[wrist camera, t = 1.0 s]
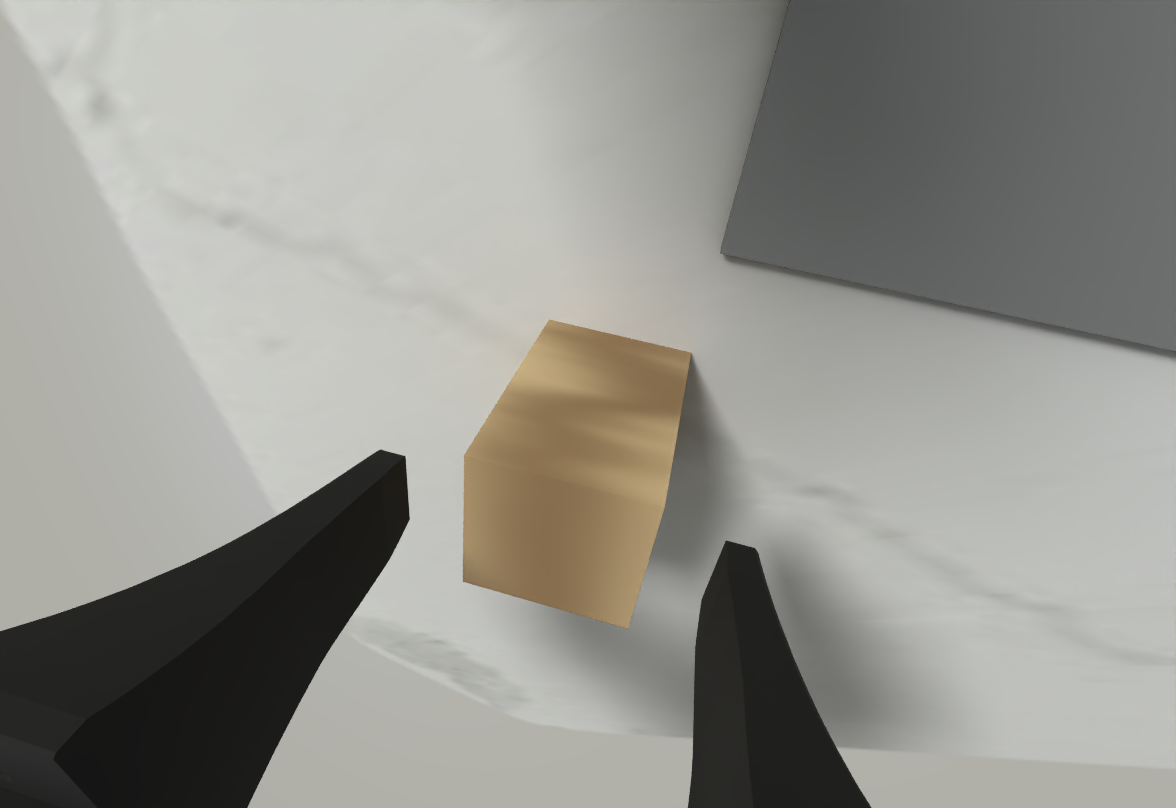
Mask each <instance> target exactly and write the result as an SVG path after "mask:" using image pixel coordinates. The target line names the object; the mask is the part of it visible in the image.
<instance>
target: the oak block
mask: <svg viewBox="0 0 1176 808" xmlns="http://www.w3.org/2000/svg"><path fill="white" fill-rule="evenodd" d="M690 358H691V353H689V352H685V351H681V350H677V349H672V348H668V347H664V346H659V345H655V344H651V343H647V342H642V341H638V340H634V339H630V338H625V337H621V336H617V335H612V334H608V333H604V332H600V331H595V330H591V329H587V328H583V327H578V326H574V325H570V324H565V323H561V322H557V321H553V320H549V321H548V322H547V324H546V326H545V327H544V329H543V330H542V332H541V334H540V335H539V337H538V338H537V340H536V342H535V343H534V345H533V346H532V348H531V349H530V351H529V353H528V354H527V356H526V357H525V359H524V361H523V362H522V364H521V365H520V367H519V369H518V370H517V372H516V373H515V375H514V377H513V378H512V380H511V381H510V383H509V385H508V386H507V388H506V389H505V391H504V393H503V394H502V396H501V397H500V399H499V401H498V402H497V404H496V405H495V407H494V409H493V410H492V412H491V413H490V415H489V417H488V418H487V420H486V421H485V423H484V425H483V426H482V428H481V429H480V431H479V433H478V434H477V436H476V437H475V439H474V440H473V442H472V444H471V445H470V447H469V448H468V450H467V452H466V453H465V455H464V527H463V582H466V583H470V584H473V585H477V586H480V587H484V588H487V589H491V590H494V591H498V592H501V593H505V594H508V595H512V596H515V597H519V598H522V599H526V600H529V601H533V602H536V603H540V604H543V605H547V606H550V607H554V608H557V609H561V610H564V611H568V612H571V613H575V614H578V615H582V616H585V617H589V618H592V619H595V620H599V621H602V622H606V623H609V624H613V625H616V626H620V627H623V628H627V629H628V627H629V624H630V621H631V617H632V614H633V611H634V607H635V604H636V601H637V597H638V594H639V591H640V588H641V584H642V581H643V578H644V574H645V571H646V568H647V565H648V561H649V558H650V555H651V551H652V548H653V545H654V541H655V538H656V535H657V532H658V528H659V525H660V522H661V518H662V515H663V512H664V508H665V503H666V497H667V492H668V486H669V480H670V474H671V468H672V463H673V457H674V451H675V445H676V439H677V434H678V428H679V422H680V416H681V410H682V404H683V399H684V393H685V387H686V381H687V375H688V370H689V364H690Z"/></svg>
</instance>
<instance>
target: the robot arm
mask: <svg viewBox="0 0 1176 808" xmlns="http://www.w3.org/2000/svg"><path fill="white" fill-rule="evenodd" d="M409 520H410V517H409V503H408V488H407V473H406V458H405V456H402V455H398V454H395V453H391V452H387V451H383V450H379V451H377V452H375V453H374V454H372V455H371V456H369V457H368V458H366V459H365V460H363V461H362V462H360V463H359V464H357V465H356V466H354V467H353V468H351V469H350V470H348V471H347V472H345V473H344V474H342V475H341V476H339V477H338V478H336V479H335V480H333V481H332V482H330V483H329V484H327V485H325V486H324V487H322V488H321V489H319V490H318V491H316V492H315V493H313V494H311V495H310V496H308V497H307V498H305V499H304V500H302V501H300V502H299V503H297V504H296V505H294V506H293V507H291V508H289V509H288V510H286V511H284V512H283V513H281V514H279V515H277V516H276V517H274V518H272V519H271V520H269V521H267V522H266V523H264V524H262V525H260V526H259V527H257V528H255V529H254V530H252V531H250V532H248V533H246V534H244V535H243V536H241V537H239V538H237V539H235V540H233V541H231V542H230V543H228V544H226V545H224V546H222V547H220V548H218V549H216V550H214V551H212V552H210V553H208V554H206V555H204V556H202V557H199V558H197V559H196V560H193V561H191V562H189V563H187V564H185V565H182V566H180V567H178V568H175V569H173V570H170V571H168V572H166V573H163V574H161V575H159V576H156V577H154V578H152V579H149V580H147V581H145V582H142V583H140V584H138V585H135V586H133V587H130V588H128V589H125V590H123V591H120V592H117V593H114V594H112V595H109V596H107V597H104V598H101V599H98V600H96V601H93V602H90V603H87V604H85V605H81V606H79V607H76V608H73V609H70V610H67V611H64V612H61V613H58V614H55V615H52V616H49V617H46V618H42V619H39V620H36V621H33V622H30V623H26V624H23V625H20V626H16V627H13V628H10V629H7V630H3V631H0V808H247V807H248V805H249V803H250V801H251V799H252V797H253V794H254V792H255V790H256V788H257V786H258V784H259V782H260V780H261V778H262V776H263V774H264V772H265V770H266V768H267V766H268V764H269V761H270V760H271V757H272V755H273V753H274V751H275V749H276V747H277V745H278V743H279V741H280V739H281V738H282V736H283V733H284V731H285V730H286V728H287V726H288V724H289V722H290V720H291V718H292V716H293V714H294V712H295V710H296V708H297V707H298V705H299V703H300V701H301V699H302V697H303V695H304V694H305V692H306V690H307V688H308V686H309V684H310V683H311V681H312V679H313V677H314V675H315V673H316V671H317V670H318V668H319V666H320V664H321V662H322V661H323V659H324V658H325V656H326V654H327V653H328V651H329V650H330V648H331V646H332V645H333V643H334V642H335V640H336V639H337V637H338V636H339V634H340V633H341V631H342V630H343V628H344V627H345V625H346V624H347V622H348V621H349V619H350V618H351V616H352V615H353V613H354V612H355V610H356V609H357V608H358V606H359V605H360V603H361V602H362V600H363V599H364V597H365V596H366V594H367V593H368V591H369V590H370V588H371V587H372V585H373V584H374V582H375V581H376V579H377V578H378V576H379V575H380V573H381V572H382V570H383V569H384V567H385V566H386V564H387V562H388V561H389V559H390V557H391V556H392V554H393V552H394V550H395V548H396V546H397V544H398V542H399V540H400V538H401V536H402V534H403V532H404V530H405V528H406V526H407V524H408V522H409ZM688 808H871V806H870V805H869V803H868V801H867V800H866V798H865V797H864V795H863V793H862V792H861V790H860V789H859V787H858V785H857V784H856V782H855V780H854V779H853V777H852V775H851V773H850V771H849V770H848V768H847V766H846V764H845V763H844V761H843V759H842V757H841V755H840V754H839V752H838V750H837V748H836V746H835V744H834V742H833V740H832V738H831V737H830V735H829V733H828V731H827V729H826V727H825V725H824V723H823V721H822V719H821V717H820V715H819V713H818V711H817V709H816V707H815V705H814V703H813V700H812V698H811V696H810V694H809V692H808V690H807V687H806V685H805V683H804V681H803V678H802V676H801V674H800V672H799V669H798V667H797V665H796V662H795V660H794V657H793V655H792V652H791V650H790V647H789V645H788V642H787V640H786V637H785V634H784V632H783V629H782V627H781V624H780V621H779V618H778V616H777V613H776V610H775V607H774V604H773V601H772V598H771V595H770V592H769V589H768V586H767V583H766V579H765V576H764V573H763V569H762V565H761V562H760V558H759V554H758V552H757V551H756V549H755V548H752V547H748V546H745V545H741V544H737V543H733V542H729V541H726V542H725V544H724V547H723V549H722V551H721V554H720V556H719V559H718V561H717V564H716V566H715V568H714V571H713V573H712V576H711V578H710V581H709V583H708V585H707V588H706V590H705V593H704V595H703V598H702V601H701V608H700V615H699V622H698V630H697V638H696V646H695V681H694V727H693V760H692V777H691V786H690V795H689V803H688Z"/></svg>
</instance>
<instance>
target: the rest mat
mask: <svg viewBox="0 0 1176 808" xmlns="http://www.w3.org/2000/svg"><path fill="white" fill-rule="evenodd" d="M720 254H725V255H729V256H734V257H739V258H743V259H748V260H753V261H757V262H762V263H767V264H771V265H776V266H781V267H785V268H790V269H795V270H799V271H804V272H809V273H813V274H818V275H822V276H827V277H832V278H836V279H841V280H846V281H850V282H855V283H860V284H864V285H869V286H874V287H878V288H883V289H888V290H892V291H897V292H902V293H906V294H911V295H916V296H920V297H925V298H930V299H934V300H939V301H944V302H948V303H953V304H958V305H962V306H967V307H971V308H976V309H981V310H985V311H990V312H995V313H999V314H1004V315H1009V316H1013V317H1018V318H1023V319H1027V320H1032V321H1037V322H1041V323H1046V324H1051V325H1055V326H1060V327H1065V328H1069V329H1074V330H1079V331H1083V332H1088V333H1093V334H1097V335H1102V336H1107V337H1111V338H1116V339H1120V340H1125V341H1130V342H1134V343H1139V344H1144V345H1148V346H1153V347H1158V348H1162V349H1167V350H1172V351H1176V0H790V2H789V6H788V9H787V13H786V17H785V20H784V24H783V27H782V31H781V34H780V38H779V42H778V45H777V49H776V52H775V56H774V60H773V63H772V67H771V70H770V74H769V77H768V81H767V85H766V88H765V92H764V95H763V99H762V102H761V106H760V110H759V113H758V117H757V120H756V124H755V127H754V131H753V135H752V138H751V142H750V145H749V149H748V153H747V156H746V160H745V163H744V167H743V170H742V174H741V178H740V181H739V185H738V188H737V192H736V195H735V199H734V203H733V206H732V210H731V213H730V217H729V221H728V224H727V228H726V231H725V235H724V238H723V242H722V246H721V251H720Z"/></svg>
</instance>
